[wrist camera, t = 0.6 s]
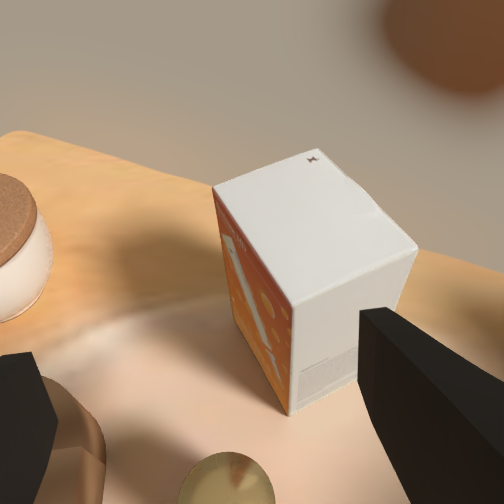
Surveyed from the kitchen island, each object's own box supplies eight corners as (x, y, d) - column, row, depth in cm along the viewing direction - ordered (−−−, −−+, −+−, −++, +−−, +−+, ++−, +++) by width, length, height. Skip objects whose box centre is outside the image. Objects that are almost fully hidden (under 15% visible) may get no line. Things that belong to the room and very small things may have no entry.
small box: (232, 320, 30) (208, 183, 20) (307, 286, 32) (318, 142, 22) (287, 422, 26) (291, 307, 16) (372, 375, 27) (425, 244, 17)
